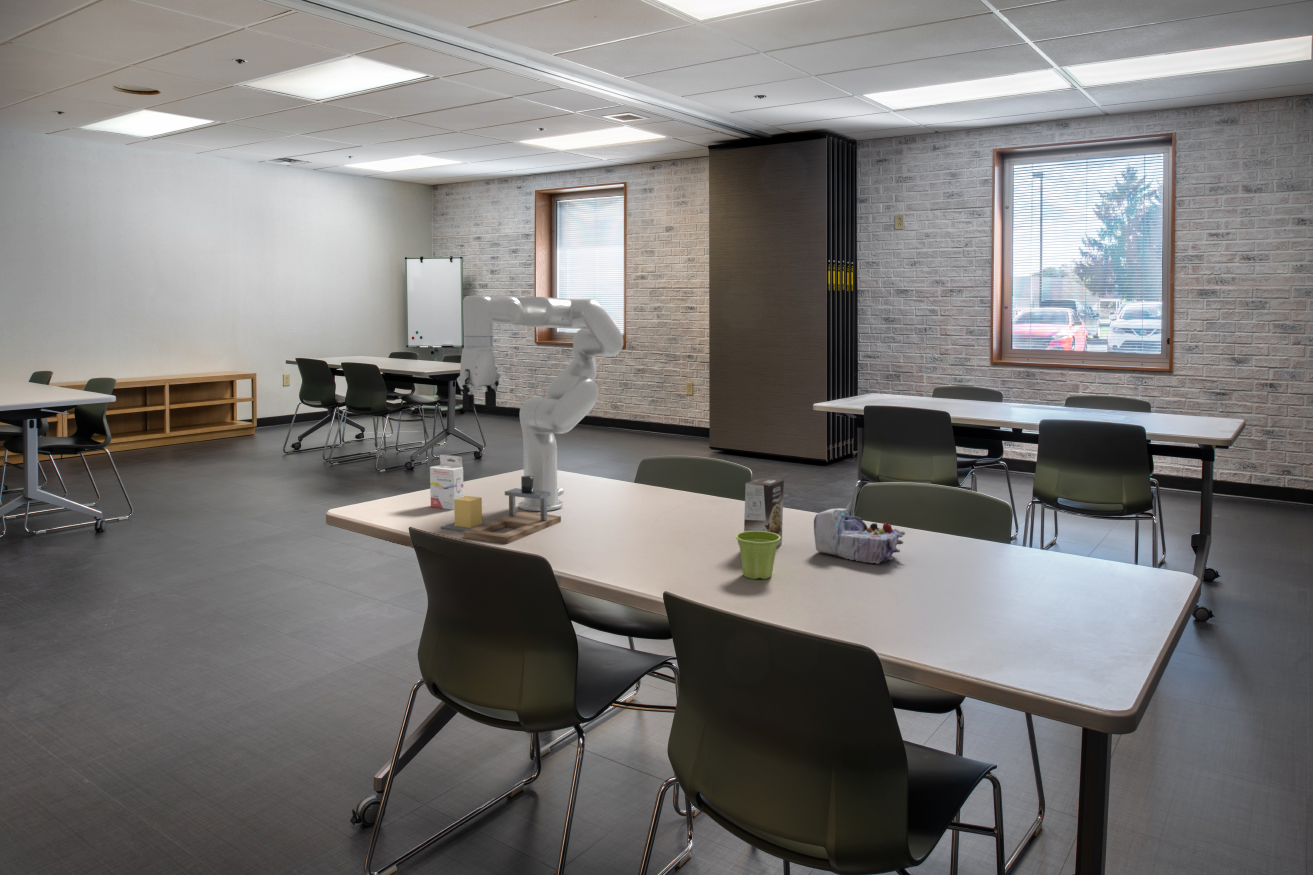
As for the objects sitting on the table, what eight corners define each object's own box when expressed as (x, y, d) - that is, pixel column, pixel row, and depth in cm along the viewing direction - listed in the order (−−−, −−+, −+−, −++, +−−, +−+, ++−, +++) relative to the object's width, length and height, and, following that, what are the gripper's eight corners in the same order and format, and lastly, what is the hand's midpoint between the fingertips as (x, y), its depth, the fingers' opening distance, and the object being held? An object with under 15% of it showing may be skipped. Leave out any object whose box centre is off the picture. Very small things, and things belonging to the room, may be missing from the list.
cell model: (825, 500, 208) (909, 511, 199) (823, 543, 209) (905, 556, 200) (808, 510, 197) (896, 523, 187) (806, 556, 198) (893, 570, 189)
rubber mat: (464, 520, 231) (464, 518, 231) (495, 524, 226) (495, 522, 226) (440, 528, 222) (440, 526, 222) (472, 532, 217) (472, 531, 217)
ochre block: (466, 521, 227) (465, 495, 226) (482, 523, 225) (481, 497, 224) (454, 525, 223) (454, 499, 222) (470, 527, 221) (470, 501, 220)
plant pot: (762, 585, 177) (763, 544, 175) (726, 575, 183) (727, 536, 182) (787, 575, 184) (789, 535, 182) (751, 566, 190) (752, 528, 189)
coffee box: (767, 552, 201) (769, 485, 199) (742, 548, 204) (744, 482, 202) (783, 544, 209) (785, 479, 206) (759, 540, 212) (760, 476, 210)
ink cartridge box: (429, 507, 246) (428, 456, 244) (441, 503, 250) (439, 454, 248) (453, 510, 242) (452, 458, 240) (464, 506, 247) (463, 456, 245)
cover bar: (515, 513, 231) (515, 473, 230) (550, 517, 227) (550, 476, 225) (505, 517, 227) (504, 476, 225) (540, 521, 222) (540, 480, 221)
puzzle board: (520, 516, 235) (519, 511, 235) (560, 521, 230) (560, 516, 229) (463, 537, 213) (463, 531, 212) (507, 543, 207) (507, 537, 207)
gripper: (486, 342, 235) (487, 404, 237) (446, 343, 219) (447, 410, 221) (509, 342, 231) (510, 405, 234) (470, 344, 216) (471, 411, 218)
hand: (479, 407), depth 228 cm, fingers open, 9 cm apart
